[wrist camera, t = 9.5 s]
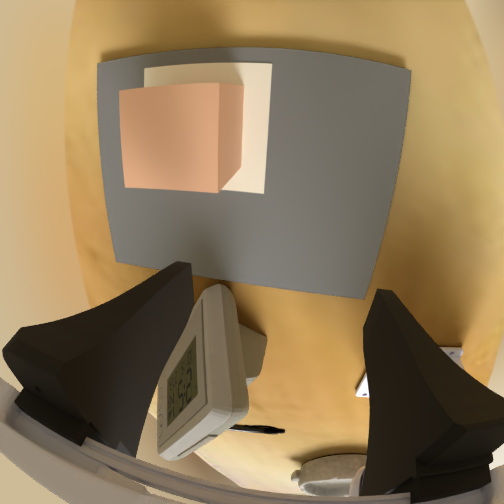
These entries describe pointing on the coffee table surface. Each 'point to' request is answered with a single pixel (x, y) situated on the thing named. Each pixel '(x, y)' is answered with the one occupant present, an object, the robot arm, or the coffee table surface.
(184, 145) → the block
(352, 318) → the coffee table surface
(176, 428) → the digital clock
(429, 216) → the coffee table surface
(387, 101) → the mat
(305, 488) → the dish
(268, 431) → the pen
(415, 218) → the coffee table surface
